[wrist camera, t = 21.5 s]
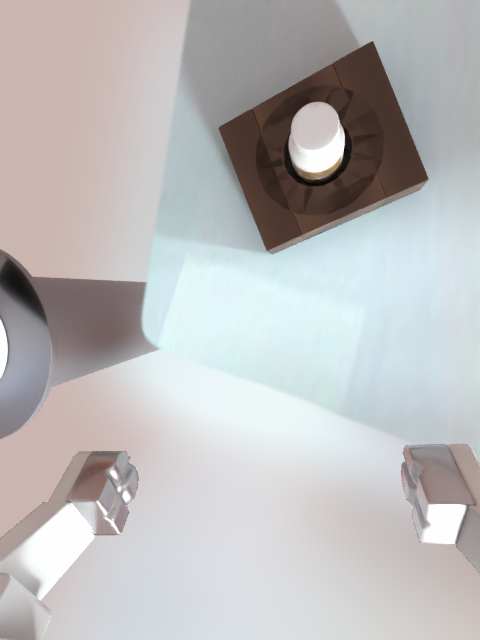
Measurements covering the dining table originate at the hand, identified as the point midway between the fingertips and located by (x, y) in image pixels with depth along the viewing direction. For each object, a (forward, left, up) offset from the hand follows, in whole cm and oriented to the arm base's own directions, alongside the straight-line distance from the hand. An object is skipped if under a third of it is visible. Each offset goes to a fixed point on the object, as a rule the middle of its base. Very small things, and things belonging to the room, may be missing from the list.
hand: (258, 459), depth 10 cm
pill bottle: (+7, +15, -25) cm, 30 cm away
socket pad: (+7, +15, -25) cm, 30 cm away
